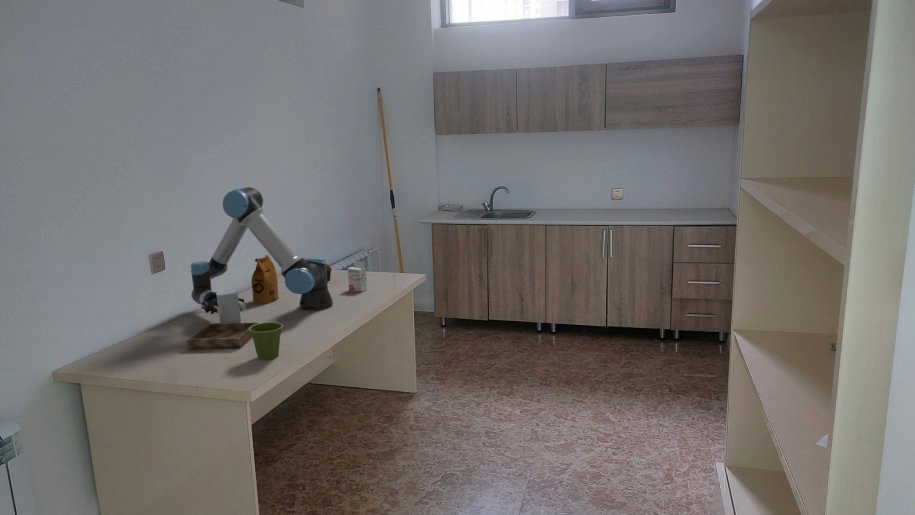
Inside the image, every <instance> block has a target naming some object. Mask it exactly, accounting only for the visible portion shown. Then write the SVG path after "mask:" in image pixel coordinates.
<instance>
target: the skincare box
mask: <svg viewBox="0 0 915 515" xmlns="http://www.w3.org/2000/svg"><path fill="white" fill-rule="evenodd" d="M216 296H217V304H218V307H220V308H222V315H219V314H218V316H219V317H218V318H219V323H242V319H241V308H239V301H238V298H239V295H238V292H237V290H236V289H235V290H230V291H224V292H217V293H216Z"/></svg>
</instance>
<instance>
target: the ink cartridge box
mask: <svg viewBox="0 0 915 515" xmlns="http://www.w3.org/2000/svg"><path fill="white" fill-rule="evenodd" d="M347 276H348V280H347V281H348V290H349V291H352V290H354V292H358V291H362V292H365V291H368V284H367V283H368V282H367V268H366V262H364V261H357V260H353V266H351V267H348V268H347ZM364 290H365V291H364Z"/></svg>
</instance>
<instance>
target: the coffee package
mask: <svg viewBox="0 0 915 515" xmlns="http://www.w3.org/2000/svg"><path fill="white" fill-rule="evenodd" d="M254 262H256V266H255V269H254V272H253V273H252V275H251V290H252V301H253V303H254V304H259V303H262V305H265V304H266V305H269V304H270V303H271V302H274V301H277V299H279V286H278V277H277V271H276V266H275V265H274V262H273V261H272V259H271V258H270V256H269V254H266V255H264V257H258V258H255V259H254Z"/></svg>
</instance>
